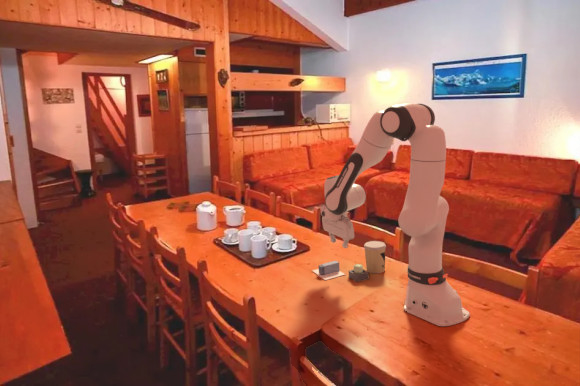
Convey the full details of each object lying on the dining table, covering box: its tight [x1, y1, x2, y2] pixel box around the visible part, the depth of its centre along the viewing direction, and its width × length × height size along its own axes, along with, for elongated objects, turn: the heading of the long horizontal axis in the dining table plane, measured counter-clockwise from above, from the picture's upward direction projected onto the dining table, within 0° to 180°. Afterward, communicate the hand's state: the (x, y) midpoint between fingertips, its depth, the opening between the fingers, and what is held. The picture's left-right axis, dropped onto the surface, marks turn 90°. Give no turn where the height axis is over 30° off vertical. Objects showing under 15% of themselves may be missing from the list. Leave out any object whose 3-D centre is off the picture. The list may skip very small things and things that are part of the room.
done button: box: [353, 263, 364, 274], centre depth 170 cm, size 4×4×4 cm
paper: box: [311, 268, 346, 281], centre depth 178 cm, size 12×10×1 cm
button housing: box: [348, 268, 370, 283], centre depth 170 cm, size 6×6×3 cm
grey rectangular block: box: [318, 260, 341, 275], centre depth 178 cm, size 9×3×4 cm, turn 114°
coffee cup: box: [363, 240, 387, 274], centre depth 176 cm, size 9×9×12 cm
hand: (339, 244), depth 172 cm, fingers open, 8 cm apart
